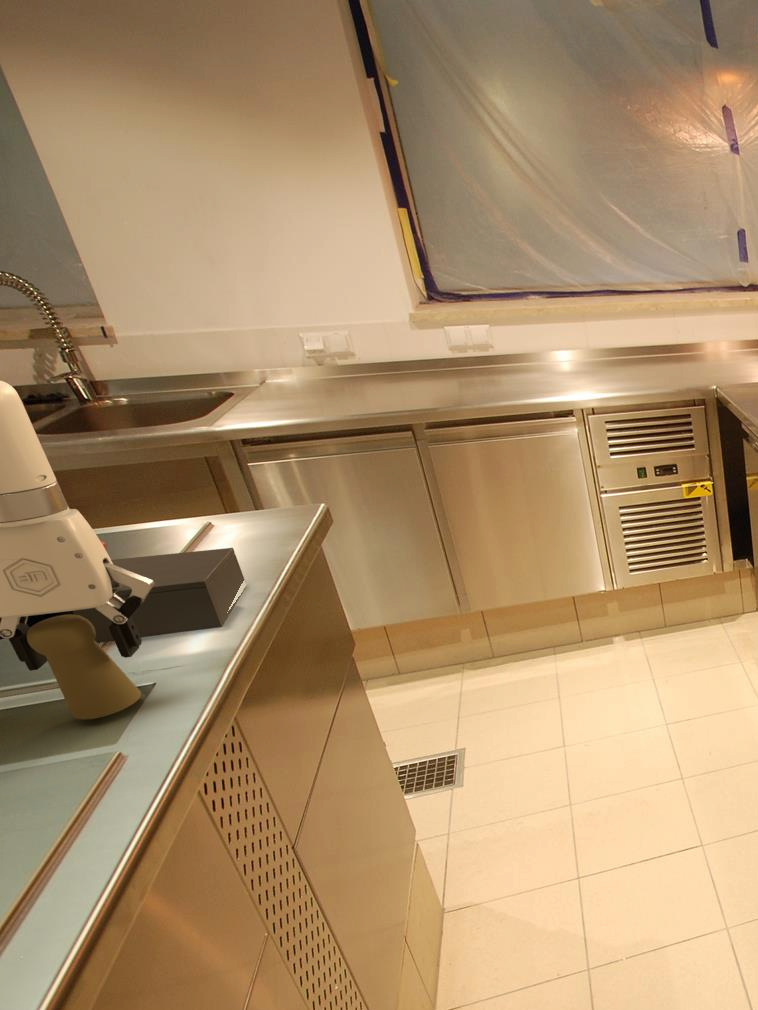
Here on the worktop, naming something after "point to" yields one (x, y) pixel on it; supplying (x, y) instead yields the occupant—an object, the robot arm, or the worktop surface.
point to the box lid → (175, 569)
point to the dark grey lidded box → (179, 607)
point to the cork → (82, 667)
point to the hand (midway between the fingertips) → (86, 657)
